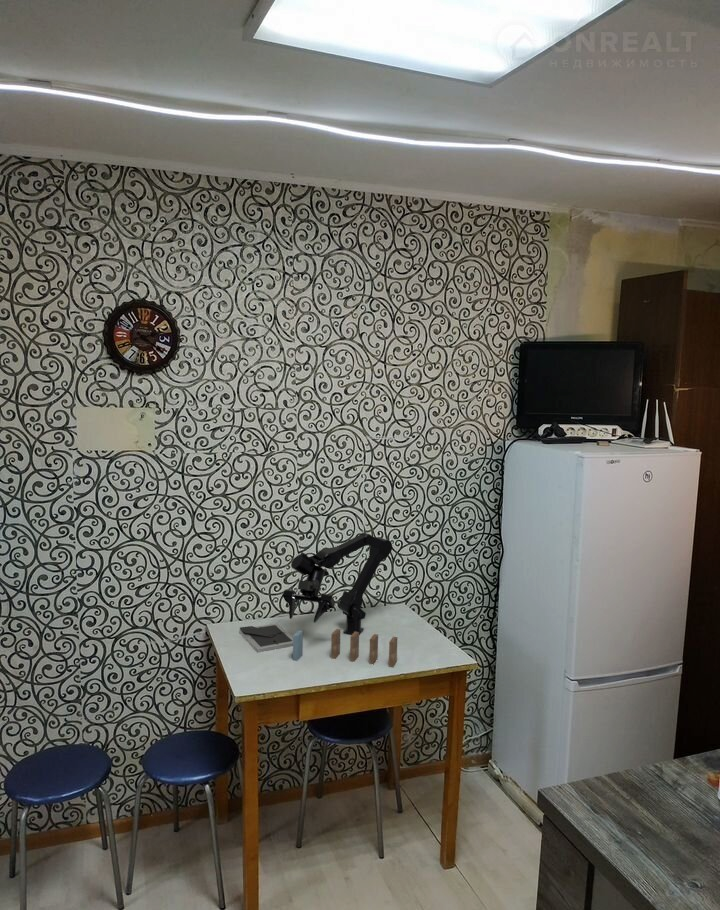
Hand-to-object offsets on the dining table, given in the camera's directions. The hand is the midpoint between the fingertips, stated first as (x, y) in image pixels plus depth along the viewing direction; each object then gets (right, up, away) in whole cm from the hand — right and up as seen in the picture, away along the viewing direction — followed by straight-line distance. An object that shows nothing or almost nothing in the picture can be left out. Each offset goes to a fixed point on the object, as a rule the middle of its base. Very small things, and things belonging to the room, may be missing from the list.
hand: (302, 620), depth 251 cm
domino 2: (+12, -13, 0) cm, 17 cm away
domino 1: (-1, -13, -2) cm, 13 cm away
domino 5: (+32, -14, -6) cm, 35 cm away
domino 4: (+25, -13, -4) cm, 29 cm away
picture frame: (-14, -11, +14) cm, 23 cm away
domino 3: (+19, -13, -2) cm, 23 cm away
